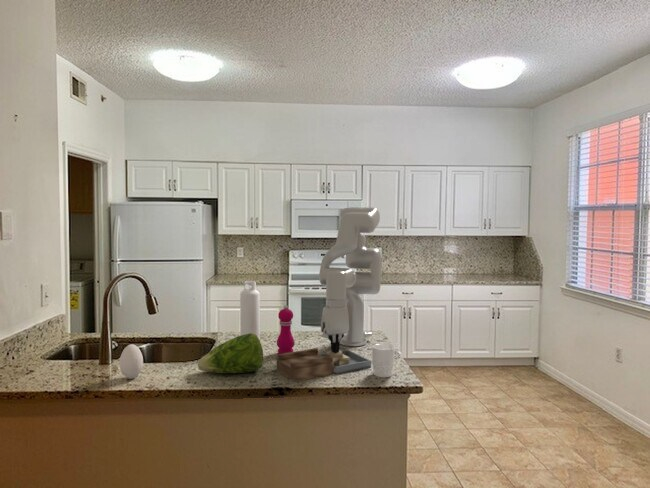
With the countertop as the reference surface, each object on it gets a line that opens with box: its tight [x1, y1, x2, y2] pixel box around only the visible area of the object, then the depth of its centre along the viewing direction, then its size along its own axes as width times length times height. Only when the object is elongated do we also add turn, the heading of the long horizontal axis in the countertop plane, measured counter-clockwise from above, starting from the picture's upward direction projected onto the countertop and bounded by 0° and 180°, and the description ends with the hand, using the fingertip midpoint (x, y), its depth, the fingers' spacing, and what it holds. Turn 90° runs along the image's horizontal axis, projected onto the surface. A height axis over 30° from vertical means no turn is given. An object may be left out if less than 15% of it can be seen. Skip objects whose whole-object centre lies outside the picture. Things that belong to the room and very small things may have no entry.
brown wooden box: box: [276, 347, 335, 383], centre depth 163 cm, size 16×14×6 cm
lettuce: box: [197, 333, 264, 374], centre depth 162 cm, size 14×23×13 cm, turn 98°
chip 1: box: [325, 349, 343, 362], centre depth 169 cm, size 4×4×2 cm
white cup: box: [371, 343, 395, 378], centre depth 161 cm, size 8×8×10 cm
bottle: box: [239, 280, 261, 340], centre depth 192 cm, size 8×8×28 cm
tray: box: [318, 349, 372, 375], centre depth 172 cm, size 15×16×2 cm
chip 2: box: [334, 354, 349, 366], centre depth 171 cm, size 4×4×2 cm
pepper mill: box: [276, 305, 295, 355], centre depth 183 cm, size 7×7×20 cm
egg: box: [119, 343, 144, 380], centre depth 154 cm, size 7×7×12 cm
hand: (335, 351), depth 169 cm, fingers closed
